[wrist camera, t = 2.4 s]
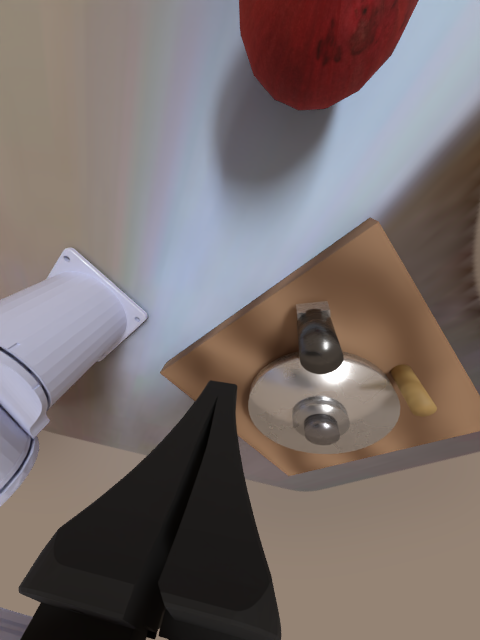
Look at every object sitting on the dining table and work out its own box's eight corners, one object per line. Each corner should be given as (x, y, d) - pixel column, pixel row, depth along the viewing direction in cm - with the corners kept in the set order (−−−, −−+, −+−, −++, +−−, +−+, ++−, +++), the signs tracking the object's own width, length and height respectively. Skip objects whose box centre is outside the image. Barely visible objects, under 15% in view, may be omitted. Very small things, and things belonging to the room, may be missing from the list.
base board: (288, 463, 30) (289, 509, 26) (166, 362, 24) (141, 402, 19) (484, 411, 21) (535, 471, 16) (370, 217, 14) (406, 235, 10)
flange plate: (385, 444, 22) (406, 499, 18) (260, 440, 25) (256, 487, 21) (414, 290, 14) (462, 333, 10) (225, 310, 17) (209, 350, 13)
